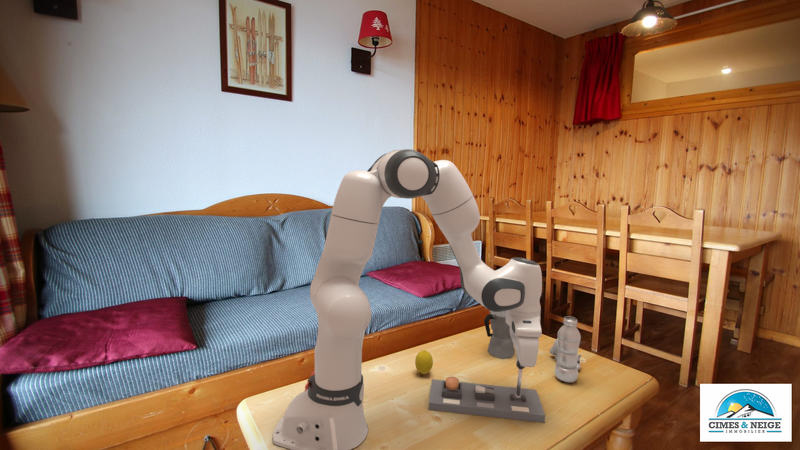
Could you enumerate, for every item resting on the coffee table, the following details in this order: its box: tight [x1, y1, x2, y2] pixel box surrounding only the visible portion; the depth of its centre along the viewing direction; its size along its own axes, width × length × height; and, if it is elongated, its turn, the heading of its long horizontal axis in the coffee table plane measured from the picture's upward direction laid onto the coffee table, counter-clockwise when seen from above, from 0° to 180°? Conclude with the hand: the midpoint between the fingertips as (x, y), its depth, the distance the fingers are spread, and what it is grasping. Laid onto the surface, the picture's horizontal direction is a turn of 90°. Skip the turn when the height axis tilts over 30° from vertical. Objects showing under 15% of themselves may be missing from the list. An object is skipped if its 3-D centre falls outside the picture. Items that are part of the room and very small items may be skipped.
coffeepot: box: [483, 310, 515, 360], centre depth 135 cm, size 15×9×18 cm, turn 122°
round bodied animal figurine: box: [549, 337, 582, 371], centre depth 129 cm, size 7×12×8 cm, turn 13°
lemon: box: [414, 349, 434, 375], centre depth 121 cm, size 6×6×8 cm
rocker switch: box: [475, 385, 494, 394], centre depth 106 cm, size 5×2×1 cm, turn 82°
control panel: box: [428, 378, 546, 424], centre depth 107 cm, size 30×12×4 cm, turn 81°
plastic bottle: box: [554, 315, 582, 384], centre depth 118 cm, size 6×7×20 cm
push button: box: [445, 376, 460, 390], centre depth 107 cm, size 4×4×2 cm
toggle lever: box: [515, 360, 526, 399], centre depth 104 cm, size 2×2×12 cm
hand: (520, 365), depth 105 cm, fingers closed
